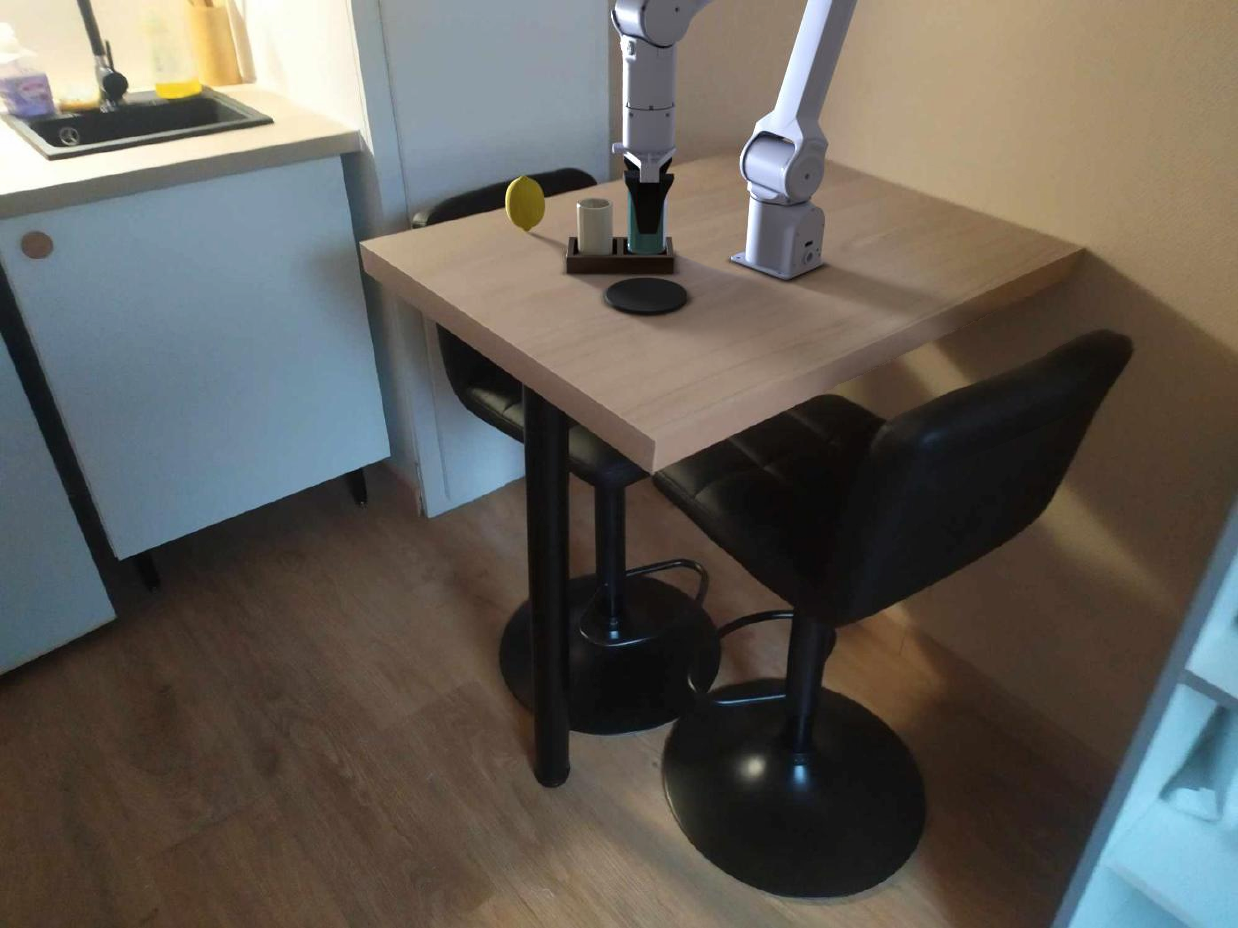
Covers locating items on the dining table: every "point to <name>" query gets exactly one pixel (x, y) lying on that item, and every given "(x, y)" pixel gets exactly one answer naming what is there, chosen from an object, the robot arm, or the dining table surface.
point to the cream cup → (595, 226)
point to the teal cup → (646, 242)
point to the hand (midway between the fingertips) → (647, 225)
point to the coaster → (646, 296)
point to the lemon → (525, 203)
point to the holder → (619, 259)
